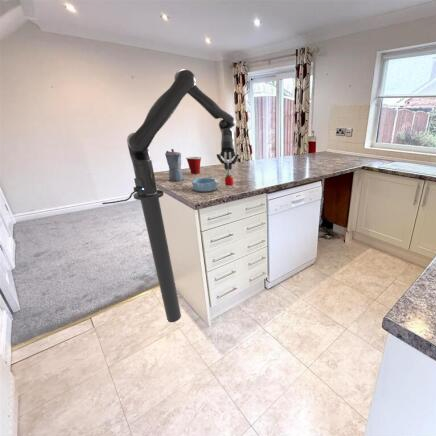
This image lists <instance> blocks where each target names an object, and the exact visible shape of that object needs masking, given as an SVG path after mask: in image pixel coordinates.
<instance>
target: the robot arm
mask: <svg viewBox="0 0 436 436" xmlns="http://www.w3.org/2000/svg"><path fill="white" fill-rule="evenodd" d="M186 95H189V96H190V97H191V98H193V100H195V101H196V102H197V103H198V104H199V105H200V106H201V107H202V108H203V109H204V110H205V111H206V112H207V113H208V114H209V115H210V116H211V117H212V118H213V119H215V120H219V119H220V120H219V122H218V127H219V130H220V134H221V139H220V140H221V141H220V148H221V149H220V153H219V154H218V153H217V154H216V159H217V160H218V161H219V162H220V164H221V165H224V166H223V167H224V170H226V171H227V161H229V170H230V171H231V170H232V169H233V165H235V164H236V163H237V161H238V160H239V159H240V155H239V153H238V154H237V153H236V152H235V141H234V131H233V130H232V128H234V127H235V126H236V123H237V122H236V119H235V118H234V116H232V115H231V114H230V113H228V112H226V111H225V110H224V109H222V108H221V107H220V106H219V105H218V103H217V102H215V101H214V100H213V99H212V98H211V97H210V96H208V95H207V94H205V92H203V91H202V90H201V89H200V88H199V87H198V86H197V85H196V76H195V73H194V72H193V71H191V70H190V69H184V68H183V69H180V70H178V71H177V72H175V74H174V80H173V82H172V84H171V85H170V87H169V88H168V89H167V90H166V91H164V92H163V93H162V94H161V95H160V96H159V97H158V98H157V99H156V100H155V102H154V103H153V104H152V106H151V107H150V108H149V110H148V112H147V114H146V117H145V119H144V121H143V123H142V124H141V125H140V127H139V128H138V129H137V130H136V131H135V132H131V133H130V134H128V135H127V137H126V143H127V148H128V152H129V156H130V159H131V163H132V168H133V172H134V177H135V178H134V179H133V180H134V185H135V186H134V187H133V191H132V192H131V193H130V194H129V197H128V198H126V199H121V200H115V201H114V200H113V201H106V202H101V204H102V205H109V204H116V203H123V202H127V201H129V200H130V199H132V197H133V195H134V194H135V193H137V194H138V195H140V196H144V197H145V196H151V195H155V194H157V193H158V191H157V190H158V184H157V183H156V182H157V181H156V178H155V173H154V167H153V161H152V157H151V154H150V152H149V151H150V150H149V147H150V145H151V143H152V142H153V140H154V138H155V136H156V135H157V134H158V133H159V131H160V130H161V129H162V128H163V127H164V125H165V124H166V123H167V122H168V121H169V119H170V118H171V117H172V116H173V114H174V113H175V111H176V110H177V108H178V106H179V105H180V103H181V101H182V100H183V99H184V98H185V96H186Z"/></svg>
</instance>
